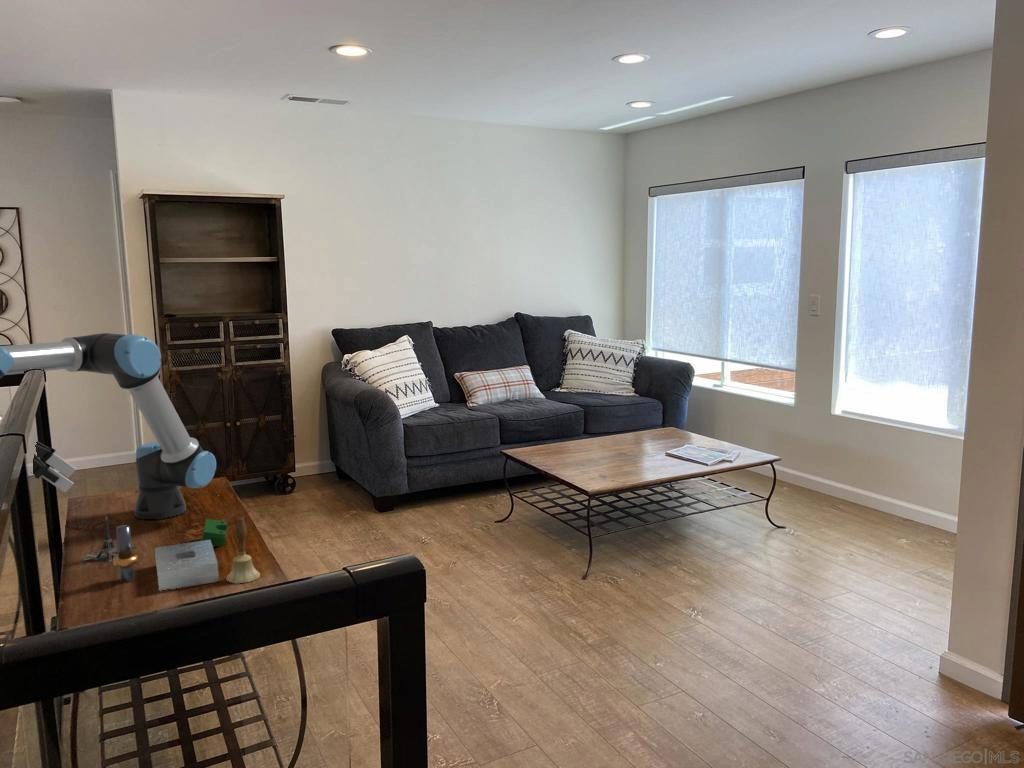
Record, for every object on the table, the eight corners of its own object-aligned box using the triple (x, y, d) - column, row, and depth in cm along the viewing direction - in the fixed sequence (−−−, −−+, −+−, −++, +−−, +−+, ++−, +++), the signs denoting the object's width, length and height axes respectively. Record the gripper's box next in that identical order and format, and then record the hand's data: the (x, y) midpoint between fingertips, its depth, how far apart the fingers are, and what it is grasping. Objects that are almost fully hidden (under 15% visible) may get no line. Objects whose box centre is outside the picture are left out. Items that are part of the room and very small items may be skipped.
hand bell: (231, 571, 206) (227, 513, 203) (263, 570, 207) (260, 512, 204) (222, 584, 198) (218, 524, 195) (255, 583, 198) (252, 523, 196)
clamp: (220, 562, 223) (225, 538, 219) (197, 559, 221) (203, 536, 217) (224, 533, 233) (230, 510, 229) (203, 530, 231) (208, 507, 227)
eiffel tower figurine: (139, 547, 223) (136, 503, 221) (141, 560, 214) (137, 513, 212) (79, 556, 216) (75, 510, 214) (78, 569, 208) (74, 522, 205)
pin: (115, 577, 201) (110, 525, 199) (139, 574, 204) (135, 521, 201) (115, 586, 196) (110, 532, 194) (139, 582, 199) (135, 528, 196)
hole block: (156, 565, 209) (154, 547, 208) (211, 556, 215) (210, 539, 215) (159, 591, 193) (157, 572, 193) (218, 581, 200) (217, 562, 199)
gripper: (-13, 427, 192) (62, 479, 201) (-30, 450, 170) (56, 507, 179) (10, 404, 193) (84, 456, 202) (-3, 424, 171) (80, 482, 180)
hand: (71, 480), depth 191 cm, fingers open, 13 cm apart
